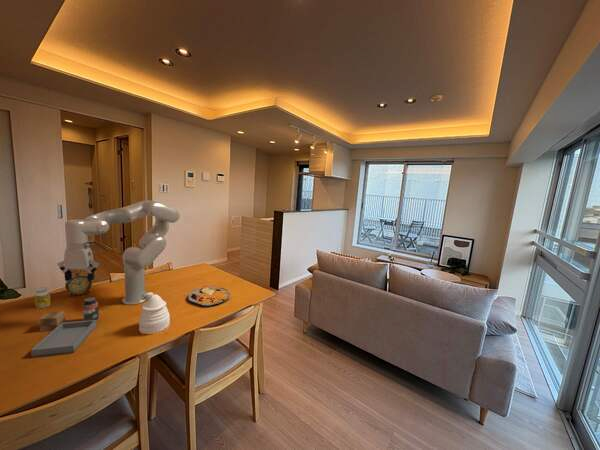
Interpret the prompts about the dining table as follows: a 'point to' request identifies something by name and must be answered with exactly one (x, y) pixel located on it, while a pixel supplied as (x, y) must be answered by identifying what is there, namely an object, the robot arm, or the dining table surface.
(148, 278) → the dining table surface
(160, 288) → the dining table surface
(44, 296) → the supplement bottle
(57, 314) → the walnut block
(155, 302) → the honey pot
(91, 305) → the supplement bottle
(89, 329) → the tray
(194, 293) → the food plate
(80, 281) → the alarm clock
